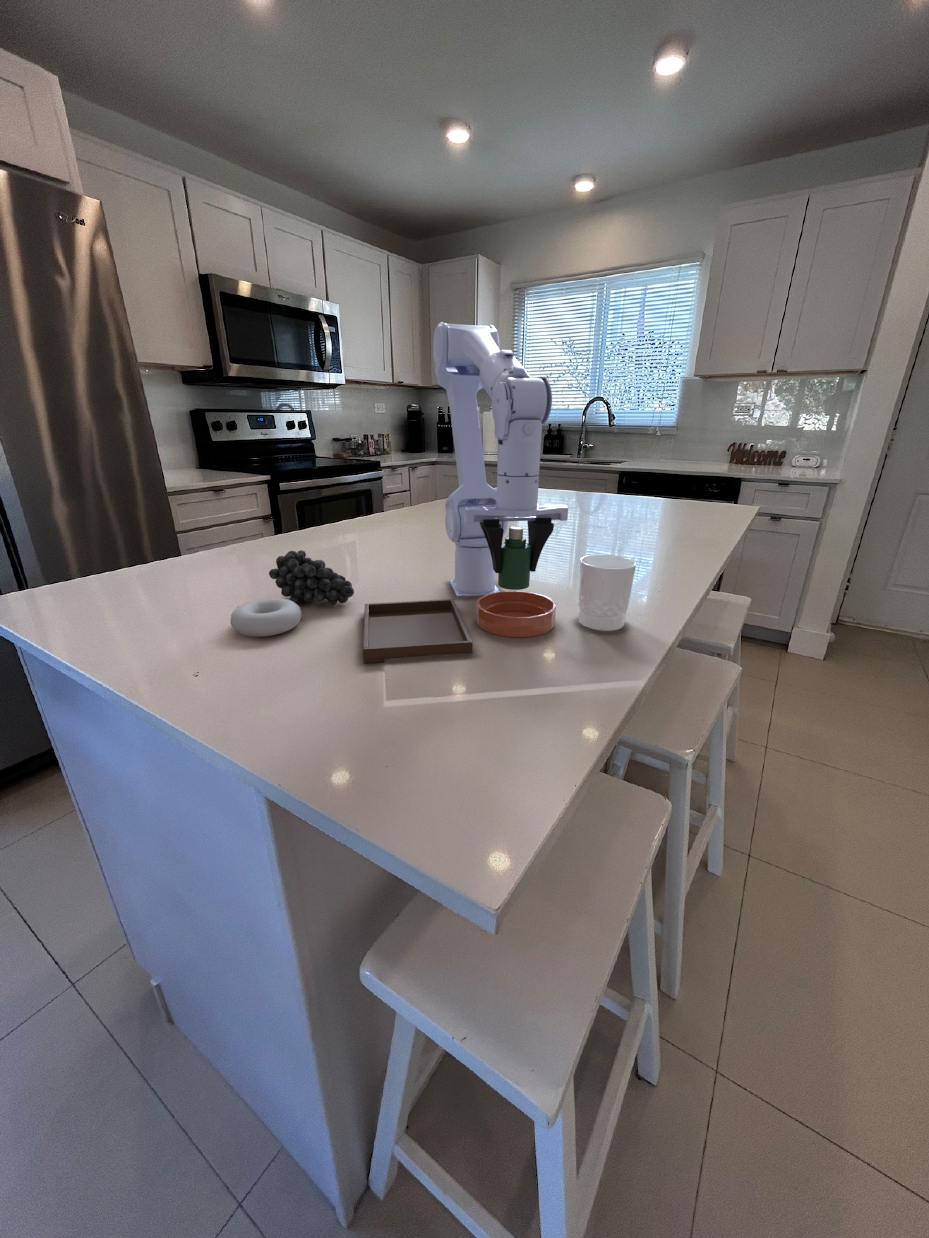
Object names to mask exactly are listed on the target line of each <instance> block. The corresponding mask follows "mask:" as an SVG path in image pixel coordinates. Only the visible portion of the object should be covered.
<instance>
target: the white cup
mask: <svg viewBox="0 0 929 1238" xmlns="http://www.w3.org/2000/svg"><path fill="white" fill-rule="evenodd" d="M579 562H580V563H579V581H578V582H579V583H578V610H579V611H578V623H579V624H580V625H582V626H583V627H585V628H588V629H591V630H597V631H601V632H602V631H617V630H620V629H622V628H624V626H625V622H626V615H627V611H628V609H629V606H630V605H629V604H630V599H631V594H632V589H633V584H634V578H635V573H636V567H637V562H636V561H635V560H633V559H632V558H631V559H630V558H628V557H624V556H619V555H612V554H590V555H585V556H583V557H581V558H580V560H579Z"/></svg>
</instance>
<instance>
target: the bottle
mask: <svg viewBox="0 0 929 1238" xmlns="http://www.w3.org/2000/svg"><path fill="white" fill-rule="evenodd" d="M530 563H531V545H530V544H528V542H527V538H526V537H524V528H523V527H522V526H510V527H509V528H508V536H506V537H504V542H502V549H501V566H502V567H501V573H497V576H498V577H497V581H498V582H497V585H498V587H499V588H501V589H506V590H508V591H522V590H525V589H527V588H529V587H530V579H531V571H530Z"/></svg>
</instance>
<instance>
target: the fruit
mask: <svg viewBox="0 0 929 1238" xmlns="http://www.w3.org/2000/svg"><path fill="white" fill-rule="evenodd" d="M275 563H276V567H275V568H271V569H270V570H269V571H268V575H269V577H270V578H271V579H272V580H275V581H274V583H275V585H276V587H278V588H279V589H281V590H280V591H281V593H280V594H281V595H282V596H283V597H285V598H289V597H290V599H289V600H290V601H293V602H294V603H296V604H297V605H298V604H301V603H302V601H304V602H305V603H312V602H313V600H316V601H317V602H323V601H325V600H326V602H327V603H328V605H330V606H336V605H337V604H338V603H339V604H345V603H347V602H348V601H349V598H351V597H353V596H354V595H355V590H354V589H355V588H353V584H352V582H351V581H349V580H347V579H346V577H345V576H343V575H341V574H339V573H338V572H334V570H333V569H332V568H330V567H326V563H325V560H322V559H315V560H312V558H311V557H308V556H307V553H306V551H304V550H298V551H296V550H290V551H288V552H287V553H286V554H285V555H279V556H278V557H277V558H276V559H275Z"/></svg>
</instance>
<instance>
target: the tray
mask: <svg viewBox="0 0 929 1238" xmlns="http://www.w3.org/2000/svg"><path fill="white" fill-rule="evenodd" d="M363 614H364V616H363V637H362V639H363V640H362V655H363V664H374V663H385V660H389V659H403V658H416V657H417V658H418V657H419V658H420V657H431V656H432V657H434V656H447V655H448V656H449V655H461V654H472V653H473V645H474V643H473V640H472V638H471V636H470V633H469V631H468V628H467V627H466V624H465V622H464V620H463V617H462V614H460V611H459V608H458V607H457V604H456V601H455V599H454V598H448V599H447V598H446V599H445V598H444V599H430V600H429V599H427V600H426V599H425V600H408V601H389V602H370V603H364V613H363Z"/></svg>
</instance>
